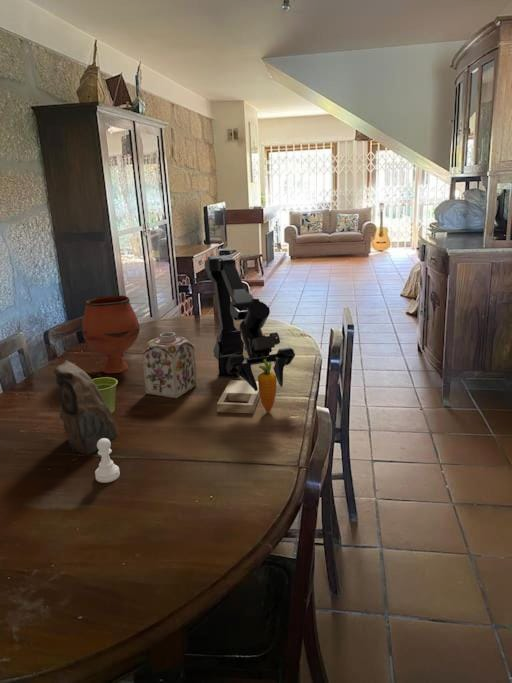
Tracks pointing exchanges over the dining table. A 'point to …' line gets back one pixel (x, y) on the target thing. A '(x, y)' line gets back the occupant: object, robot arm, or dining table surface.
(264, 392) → the carrot
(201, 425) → the dining table surface
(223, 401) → the open matchbox
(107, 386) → the plant pot
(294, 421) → the dining table surface
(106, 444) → the chess pawn
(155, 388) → the decorative jar
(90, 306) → the goblet
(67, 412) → the owl
